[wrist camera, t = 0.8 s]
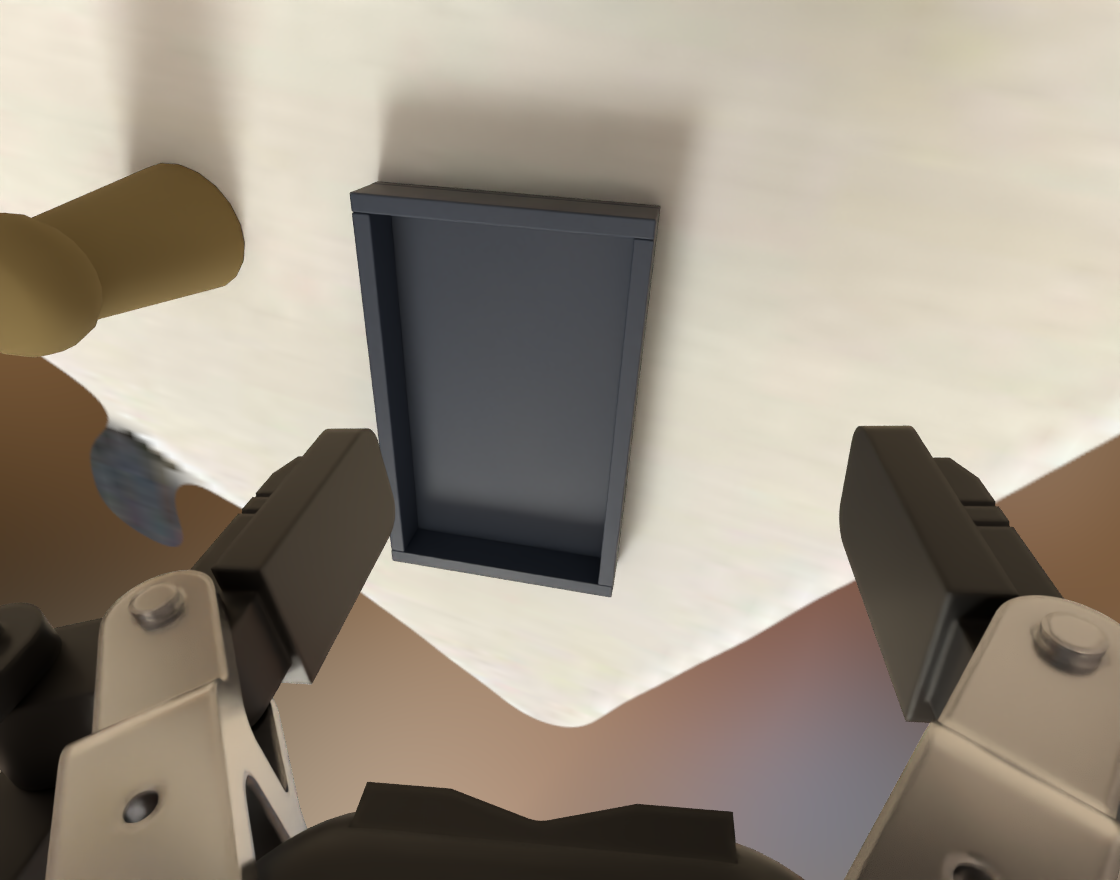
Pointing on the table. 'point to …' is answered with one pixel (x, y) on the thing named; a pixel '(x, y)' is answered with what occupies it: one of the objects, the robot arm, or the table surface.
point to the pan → (505, 374)
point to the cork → (112, 256)
